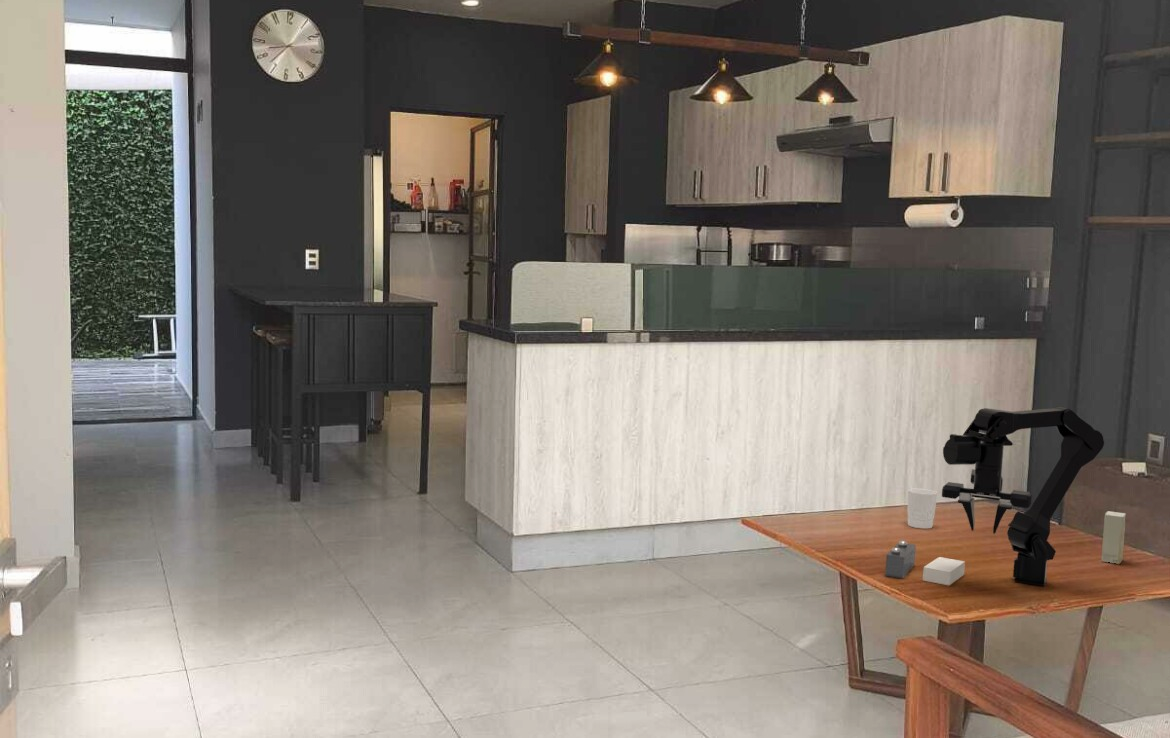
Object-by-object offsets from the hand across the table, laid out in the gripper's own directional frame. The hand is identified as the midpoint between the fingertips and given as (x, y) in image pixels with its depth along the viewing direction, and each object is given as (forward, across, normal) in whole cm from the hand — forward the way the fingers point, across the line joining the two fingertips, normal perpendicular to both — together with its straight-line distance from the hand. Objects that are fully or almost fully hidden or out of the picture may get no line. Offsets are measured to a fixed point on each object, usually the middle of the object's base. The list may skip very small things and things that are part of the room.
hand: (983, 531), depth 250 cm
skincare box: (+12, -26, -43) cm, 52 cm away
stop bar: (+12, +18, 0) cm, 22 cm away
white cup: (+12, +23, -52) cm, 58 cm away
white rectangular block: (+12, +8, 0) cm, 15 cm away
